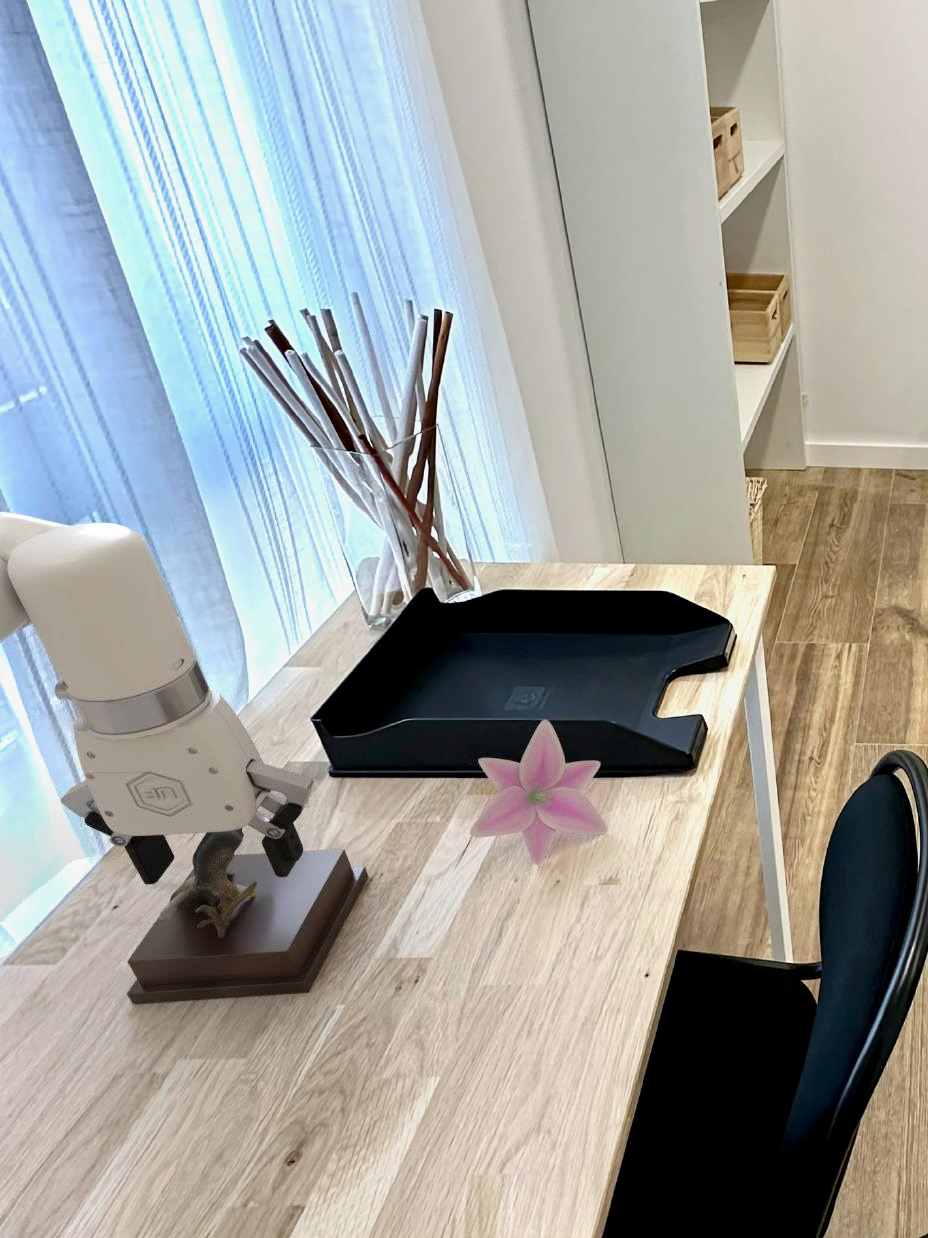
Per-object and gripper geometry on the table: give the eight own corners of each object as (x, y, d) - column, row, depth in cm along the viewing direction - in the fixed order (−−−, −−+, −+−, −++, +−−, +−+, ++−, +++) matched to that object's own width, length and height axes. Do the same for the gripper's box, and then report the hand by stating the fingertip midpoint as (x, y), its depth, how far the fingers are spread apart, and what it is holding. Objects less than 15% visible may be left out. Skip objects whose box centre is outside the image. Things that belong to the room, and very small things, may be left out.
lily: (461, 885, 98) (476, 834, 91) (459, 772, 104) (473, 717, 97) (599, 877, 104) (622, 830, 98) (589, 771, 110) (610, 720, 104)
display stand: (132, 1004, 85) (111, 969, 82) (213, 884, 96) (197, 851, 93) (308, 992, 86) (292, 957, 84) (368, 876, 97) (356, 842, 95)
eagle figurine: (299, 896, 88) (269, 823, 92) (221, 872, 82) (193, 794, 86) (224, 963, 87) (197, 886, 92) (139, 944, 81) (115, 862, 86)
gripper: (-25, 729, 73) (81, 909, 83) (247, 719, 75) (321, 896, 84) (43, 668, 80) (135, 842, 89) (293, 660, 82) (357, 831, 91)
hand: (226, 868), depth 87 cm, fingers open, 9 cm apart
